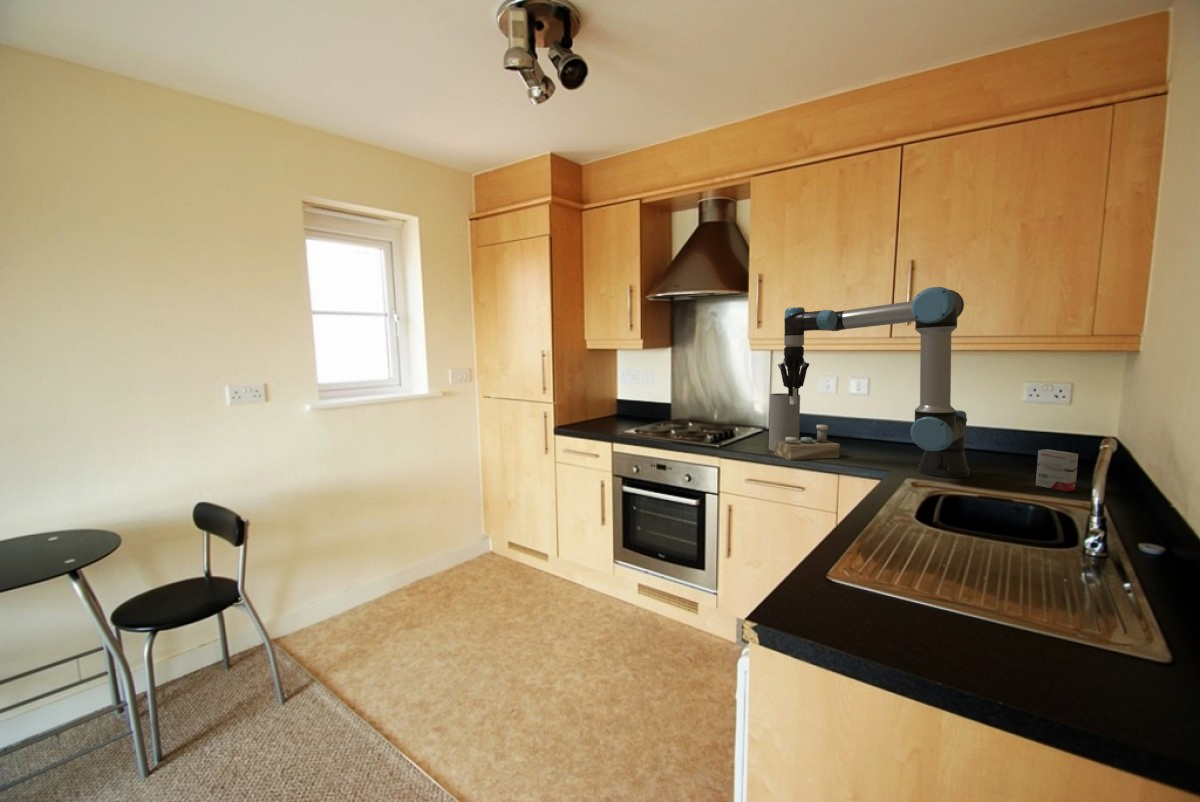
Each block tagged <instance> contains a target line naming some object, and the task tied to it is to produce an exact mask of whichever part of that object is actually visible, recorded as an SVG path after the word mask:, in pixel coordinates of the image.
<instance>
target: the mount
mask: <svg viewBox="0 0 1200 802" xmlns="http://www.w3.org/2000/svg"><path fill="white" fill-rule="evenodd" d="M840 446H841V445H840V443H837V442H833V441H829V440H826V443H817V438H815V439H813V442H811V444H803V443H802V442H801V439H799V440H797V442H796V445H788V444H787V442H786V441H775V451H774V453H773V454H774V455H776V456H777V457H780V458H783V459H786V460H788V461H803V460H818V459H835V458H840V448H841V447H840Z"/></svg>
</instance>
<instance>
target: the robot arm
mask: <svg viewBox="0 0 1200 802" xmlns="http://www.w3.org/2000/svg"><path fill="white" fill-rule="evenodd" d="M964 309H965V303H964V298H963V297H962V296H961V294H960V293H958V292H957V291H955V290H953V289H950V288H949V289H948V288H946V287H943V286H934V287H933V286H932V287H928V288H925V289H923V290H921V291H920V292H919V293H918V294H916V295H915V297H914V298H913V300H911V301H903V302H897V303H895V302H894V303H890V304H889V303H888V304H883V305H875V306H869V307H868V306H867V307H861V308H860V307H859V308H853V309H846V310H840V311H835V310H833V309H832V310H831V309H822V310H815V311H806V310H805V308H804V307H802V306H800V307H799V306H798V307H788V308H786V309H785V311H784V320H783V321H784V339H783V340H784V342H783V344H784V348H783V357H784V358H783V362H781V363H778V364H777V366H778V368H779V370H780V375H781V378H782V379H781V380H782V383H783V386H784V387H785V388H787V390H788V391H787V393H788V396H790V404H793V405H794V404H797V396H798V395H800V393H799V391H800V390H799V389H800V388H801V387H804V383H805V379H806V377H807V376H806V375H807V371H808V369H809V367H810V363H809V362H806V361H805V358H804V355H805V347H804V345H805V332H811V331H813V332H815V331H823V332H825V331H828V332H839V331H843V330H851V329H859V328H862V329H863V328H869V327H878V326H886V325H888V326H889V325H895V324H896V325H897V324H906V323H913V322H914V324H915V325H914V326H915V327H914V329H915V331H916V332H917V333H919V335H920V358H919V361H920V363H919V365H920V367H919V369H920V370H919V371H920V373H919V374H920V375H919V378H920V379H919V385H920V386H919V405H918V406H917V407H916V408H915V409H914V422H913V424H912V425H911V428H910V437H911V440H912V441H913V443H914V444H915V445H916V446H917V447H918V448H920V449H922V450H924V452H923V454H922V457H921V459H920V462H919V463H918V468H917V469H918V471H919V472H920V473H922V474H925V475H929V476H933V477H934V476H935V477H941V478H950V479H958V478H959V479H962V478H968V477H969V476H970V467H969V466H968V462H967V458H966V454H965V451H966V450H965V448H966V434H967V421H968V418H967V412H965V411H963V410H960V409H959V410H958V409H955V408H954V407H953V406H952V405H951V400H952V399H951V397H952V396H951V392H952V391H951V389H952V388H951V387H952V386H951V384H952V378H951V377H952V334H953V331H955V330H956V329H957V328H958V318H959V317H960V316H961V314H962V313H963V310H964Z"/></svg>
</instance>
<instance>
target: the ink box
mask: <svg viewBox="0 0 1200 802" xmlns="http://www.w3.org/2000/svg"><path fill="white" fill-rule="evenodd" d="M1078 461H1079V453H1076V452H1075V453H1074V452H1068V451H1061V450H1054V449H1040V450H1039V449H1038V452H1037V465H1036V466H1037V467H1036V478H1035V486H1039V487H1044V488H1047V489H1053V490H1058V491H1062V492H1071V491H1075V490H1076V484H1077V474H1078Z"/></svg>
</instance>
